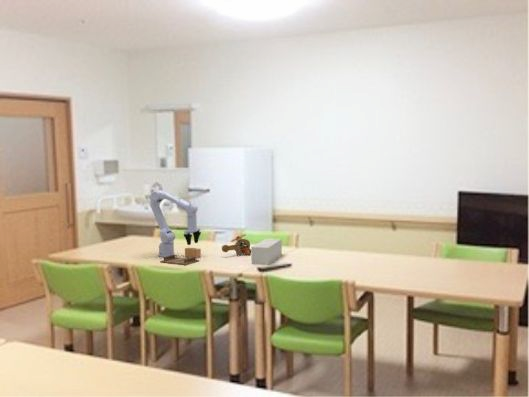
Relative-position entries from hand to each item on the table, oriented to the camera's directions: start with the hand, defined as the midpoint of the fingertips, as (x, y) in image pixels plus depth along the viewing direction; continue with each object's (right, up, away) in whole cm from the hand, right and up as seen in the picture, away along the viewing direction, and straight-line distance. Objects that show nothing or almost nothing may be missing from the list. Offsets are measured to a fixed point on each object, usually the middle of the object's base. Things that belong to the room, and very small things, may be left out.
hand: (192, 243), depth 367 cm
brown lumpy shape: (+29, -8, +5) cm, 31 cm away
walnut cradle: (-7, -10, -13) cm, 17 cm away
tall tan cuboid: (0, -9, +1) cm, 9 cm away
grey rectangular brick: (+48, -10, -7) cm, 50 cm away
